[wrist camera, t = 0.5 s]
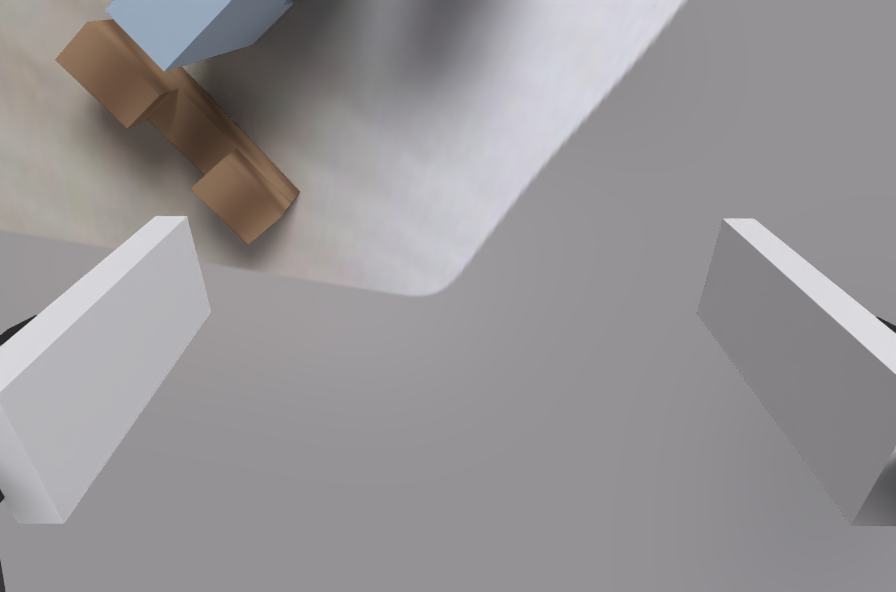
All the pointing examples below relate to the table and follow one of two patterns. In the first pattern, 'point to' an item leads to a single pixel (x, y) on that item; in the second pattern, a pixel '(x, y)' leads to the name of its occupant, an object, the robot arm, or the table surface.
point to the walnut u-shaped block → (181, 125)
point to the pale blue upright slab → (194, 26)
